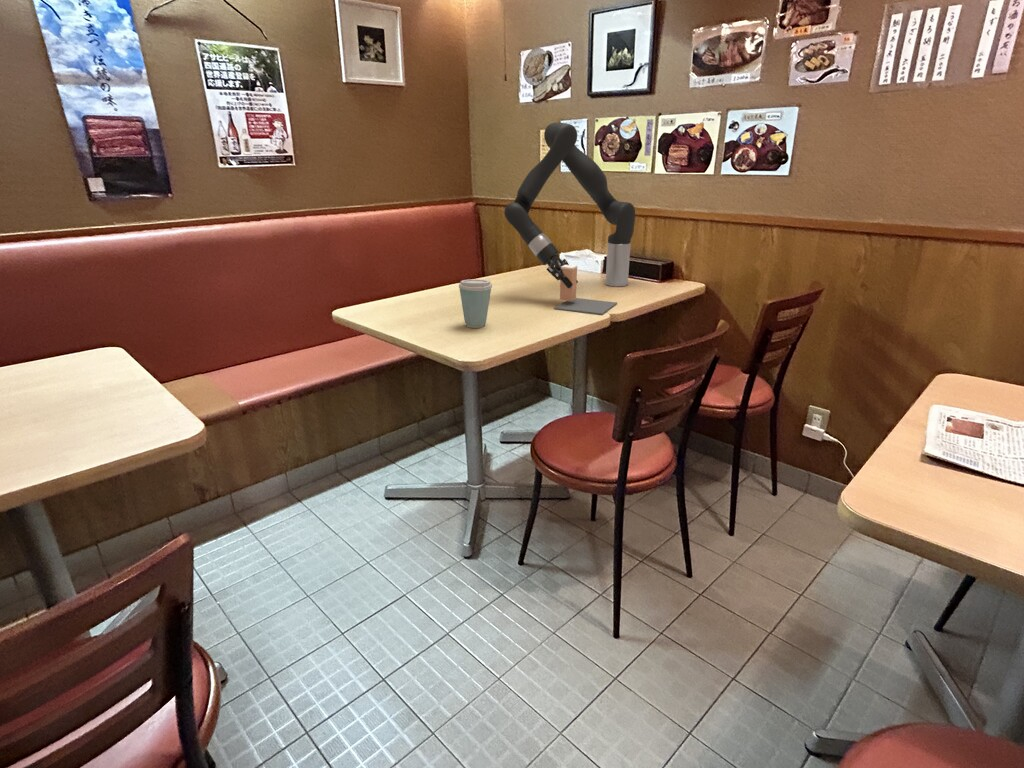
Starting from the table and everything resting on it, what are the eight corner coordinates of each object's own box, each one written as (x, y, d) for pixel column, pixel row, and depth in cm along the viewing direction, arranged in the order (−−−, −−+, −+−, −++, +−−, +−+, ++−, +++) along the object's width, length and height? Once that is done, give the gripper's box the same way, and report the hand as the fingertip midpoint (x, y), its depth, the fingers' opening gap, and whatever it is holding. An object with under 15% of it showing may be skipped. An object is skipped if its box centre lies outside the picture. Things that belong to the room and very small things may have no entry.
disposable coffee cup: (459, 321, 196) (458, 276, 190) (492, 320, 197) (491, 276, 191) (460, 330, 186) (458, 283, 181) (494, 329, 187) (493, 283, 182)
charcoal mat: (571, 298, 224) (571, 297, 224) (617, 304, 216) (617, 302, 216) (554, 309, 210) (554, 307, 210) (602, 315, 202) (602, 313, 202)
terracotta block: (564, 297, 218) (565, 264, 213) (575, 298, 216) (577, 265, 212) (559, 299, 214) (560, 266, 210) (571, 301, 212) (572, 267, 208)
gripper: (542, 244, 205) (573, 282, 204) (558, 239, 217) (587, 275, 216) (528, 258, 209) (559, 296, 209) (544, 252, 221) (573, 287, 220)
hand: (573, 285), depth 212 cm, fingers closed on terracotta block, 4 cm apart
